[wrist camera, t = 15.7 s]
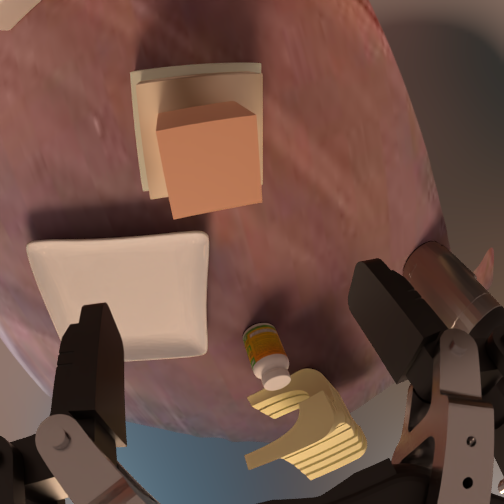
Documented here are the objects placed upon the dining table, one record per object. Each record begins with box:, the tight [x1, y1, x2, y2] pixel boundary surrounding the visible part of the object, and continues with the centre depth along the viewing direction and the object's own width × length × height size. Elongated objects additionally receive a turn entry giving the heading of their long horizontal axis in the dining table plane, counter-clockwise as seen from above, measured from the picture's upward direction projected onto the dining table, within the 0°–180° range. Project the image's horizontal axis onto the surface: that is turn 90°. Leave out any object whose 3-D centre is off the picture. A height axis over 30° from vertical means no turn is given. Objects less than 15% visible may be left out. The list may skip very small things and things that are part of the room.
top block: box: [136, 71, 263, 199], centre depth 24 cm, size 9×9×4 cm
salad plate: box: [26, 231, 209, 361], centre depth 38 cm, size 21×21×3 cm
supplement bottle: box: [243, 323, 291, 391], centre depth 46 cm, size 5×5×10 cm
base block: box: [130, 62, 261, 191], centre depth 28 cm, size 11×11×4 cm
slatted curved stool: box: [245, 368, 367, 480], centre depth 57 cm, size 30×16×18 cm, turn 29°
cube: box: [156, 101, 262, 219], centre depth 20 cm, size 6×6×6 cm
